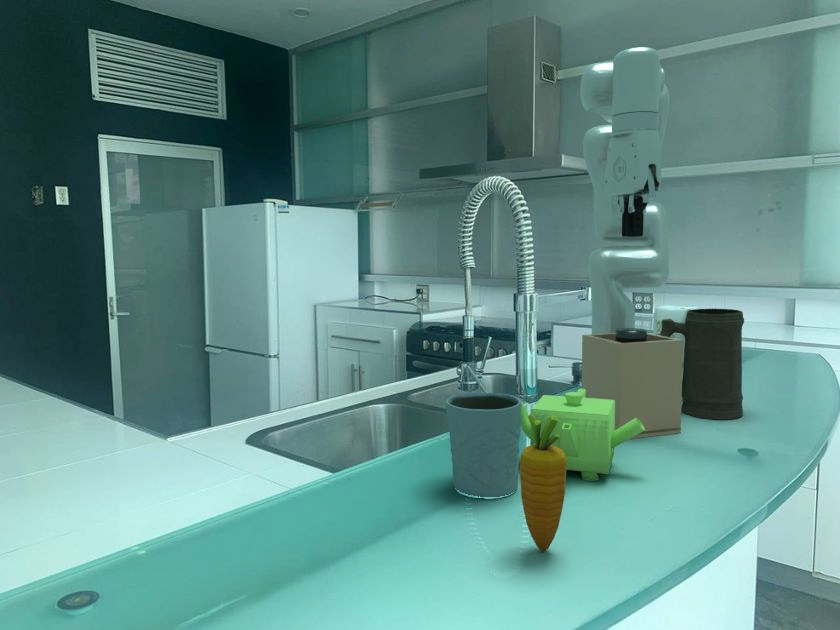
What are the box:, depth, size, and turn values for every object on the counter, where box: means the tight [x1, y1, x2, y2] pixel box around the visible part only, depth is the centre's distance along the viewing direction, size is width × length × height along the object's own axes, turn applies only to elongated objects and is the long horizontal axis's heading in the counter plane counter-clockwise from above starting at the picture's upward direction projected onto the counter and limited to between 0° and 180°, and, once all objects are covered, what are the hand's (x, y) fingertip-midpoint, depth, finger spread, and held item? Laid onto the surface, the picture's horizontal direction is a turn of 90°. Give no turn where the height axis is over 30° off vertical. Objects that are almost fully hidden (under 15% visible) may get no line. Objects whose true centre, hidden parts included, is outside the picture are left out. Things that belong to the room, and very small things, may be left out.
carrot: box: [519, 413, 567, 552], centre depth 67 cm, size 5×5×15 cm
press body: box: [581, 332, 683, 440], centre depth 114 cm, size 14×12×16 cm
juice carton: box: [652, 304, 701, 401], centre depth 135 cm, size 8×9×19 cm
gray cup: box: [445, 392, 523, 497], centre depth 86 cm, size 10×10×12 cm
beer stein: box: [660, 308, 745, 421], centre depth 121 cm, size 15×11×20 cm
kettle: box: [520, 388, 645, 481], centre depth 92 cm, size 15×14×11 cm
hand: (632, 236), depth 110 cm, fingers closed
